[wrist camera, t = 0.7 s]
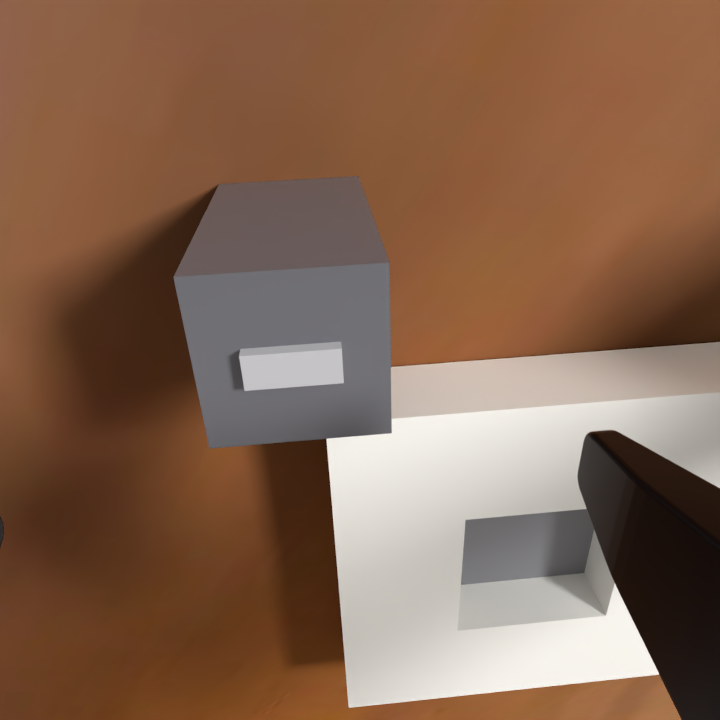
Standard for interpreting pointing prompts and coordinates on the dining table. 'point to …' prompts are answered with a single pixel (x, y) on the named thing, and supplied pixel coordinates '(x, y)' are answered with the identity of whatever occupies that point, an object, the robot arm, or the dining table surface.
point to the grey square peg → (288, 313)
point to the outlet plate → (501, 519)
